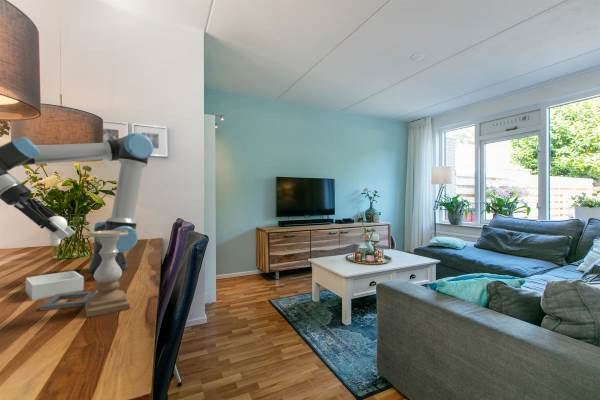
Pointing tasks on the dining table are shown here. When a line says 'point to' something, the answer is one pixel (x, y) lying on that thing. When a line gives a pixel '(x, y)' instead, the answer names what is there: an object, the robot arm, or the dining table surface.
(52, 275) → the bin
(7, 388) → the dining table surface
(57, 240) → the lightbulb
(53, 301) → the dark grey square frame
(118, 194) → the robot arm
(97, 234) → the candle holder
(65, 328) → the dining table surface
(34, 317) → the dining table surface
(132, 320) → the dining table surface
